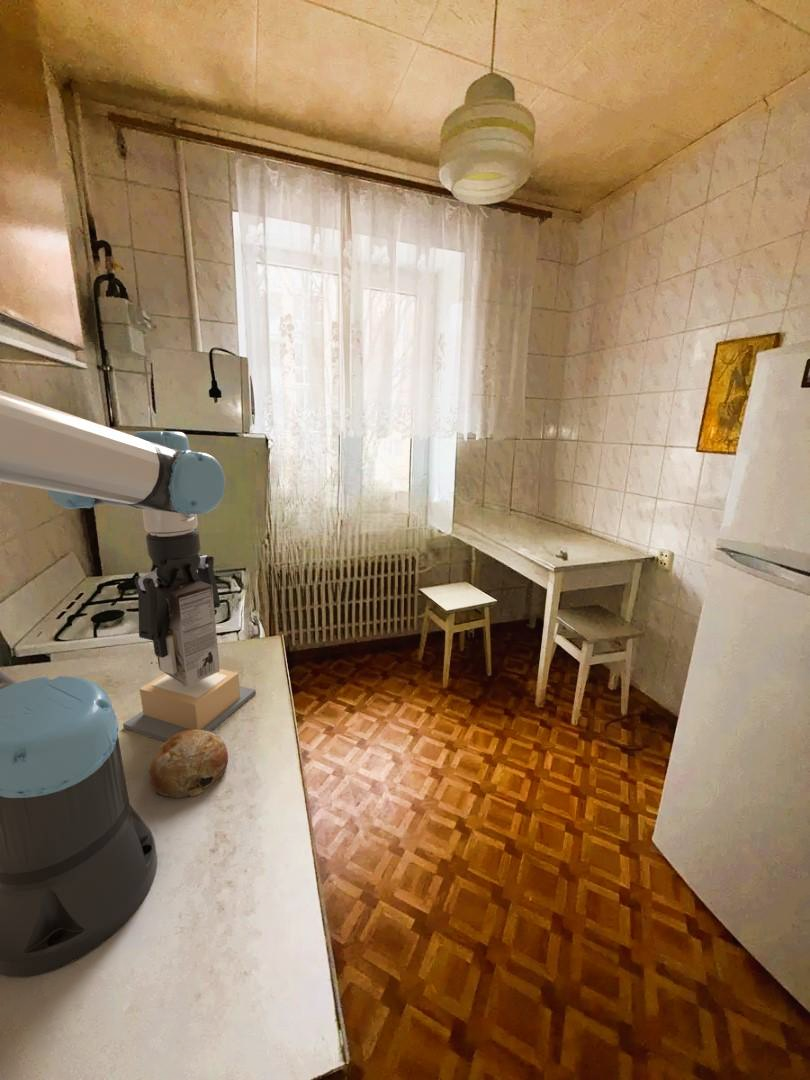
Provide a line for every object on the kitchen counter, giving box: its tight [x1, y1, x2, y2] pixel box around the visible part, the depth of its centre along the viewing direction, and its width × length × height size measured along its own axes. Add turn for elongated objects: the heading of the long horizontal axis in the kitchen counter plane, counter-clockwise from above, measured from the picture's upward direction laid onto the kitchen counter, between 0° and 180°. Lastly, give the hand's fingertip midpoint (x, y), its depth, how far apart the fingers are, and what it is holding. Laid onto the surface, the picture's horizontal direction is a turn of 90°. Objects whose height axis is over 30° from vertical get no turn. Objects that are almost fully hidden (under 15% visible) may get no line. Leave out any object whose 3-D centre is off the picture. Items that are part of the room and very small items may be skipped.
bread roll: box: [148, 729, 229, 798], centre depth 63 cm, size 10×10×8 cm
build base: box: [122, 668, 257, 743], centre depth 77 cm, size 16×14×6 cm
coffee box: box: [156, 580, 221, 686], centre depth 74 cm, size 9×6×16 cm
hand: (188, 659), depth 76 cm, fingers closed on coffee box, 7 cm apart
